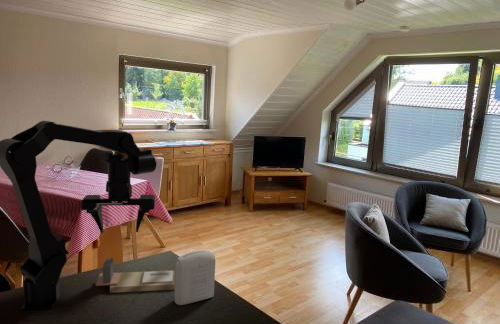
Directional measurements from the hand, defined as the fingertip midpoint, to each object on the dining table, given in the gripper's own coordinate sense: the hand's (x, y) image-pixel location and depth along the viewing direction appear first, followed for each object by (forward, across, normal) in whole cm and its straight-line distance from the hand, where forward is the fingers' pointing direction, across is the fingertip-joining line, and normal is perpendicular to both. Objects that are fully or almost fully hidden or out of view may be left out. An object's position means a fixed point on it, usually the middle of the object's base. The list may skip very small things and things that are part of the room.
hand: (119, 232), depth 105 cm
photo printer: (+12, -20, +16) cm, 28 cm away
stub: (+10, +2, +7) cm, 13 cm away
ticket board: (+12, -7, +7) cm, 16 cm away
